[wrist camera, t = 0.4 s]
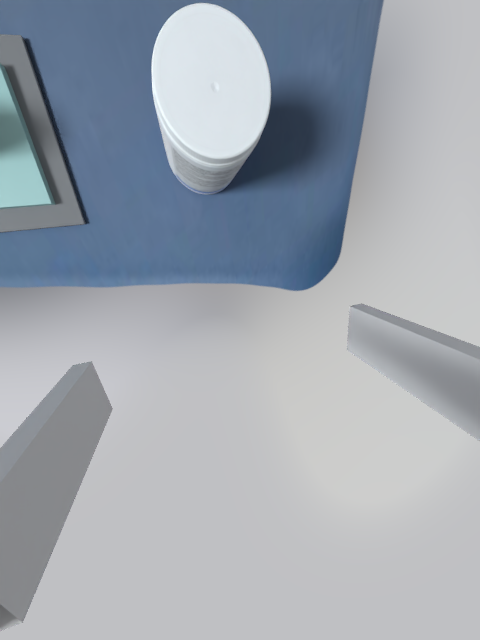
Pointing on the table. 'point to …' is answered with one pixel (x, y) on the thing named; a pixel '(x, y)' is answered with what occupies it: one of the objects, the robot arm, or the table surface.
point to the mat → (38, 146)
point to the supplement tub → (209, 94)
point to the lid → (18, 156)
